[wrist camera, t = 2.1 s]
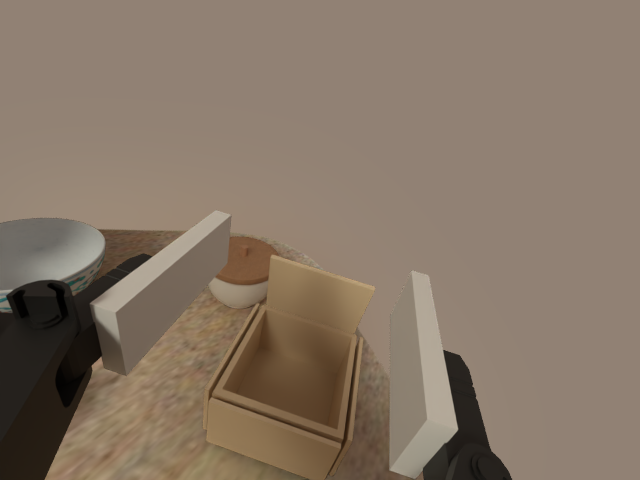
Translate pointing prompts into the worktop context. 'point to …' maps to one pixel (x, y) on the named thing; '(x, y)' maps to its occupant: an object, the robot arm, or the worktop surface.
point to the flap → (317, 294)
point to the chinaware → (48, 254)
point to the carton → (286, 393)
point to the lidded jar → (243, 273)
